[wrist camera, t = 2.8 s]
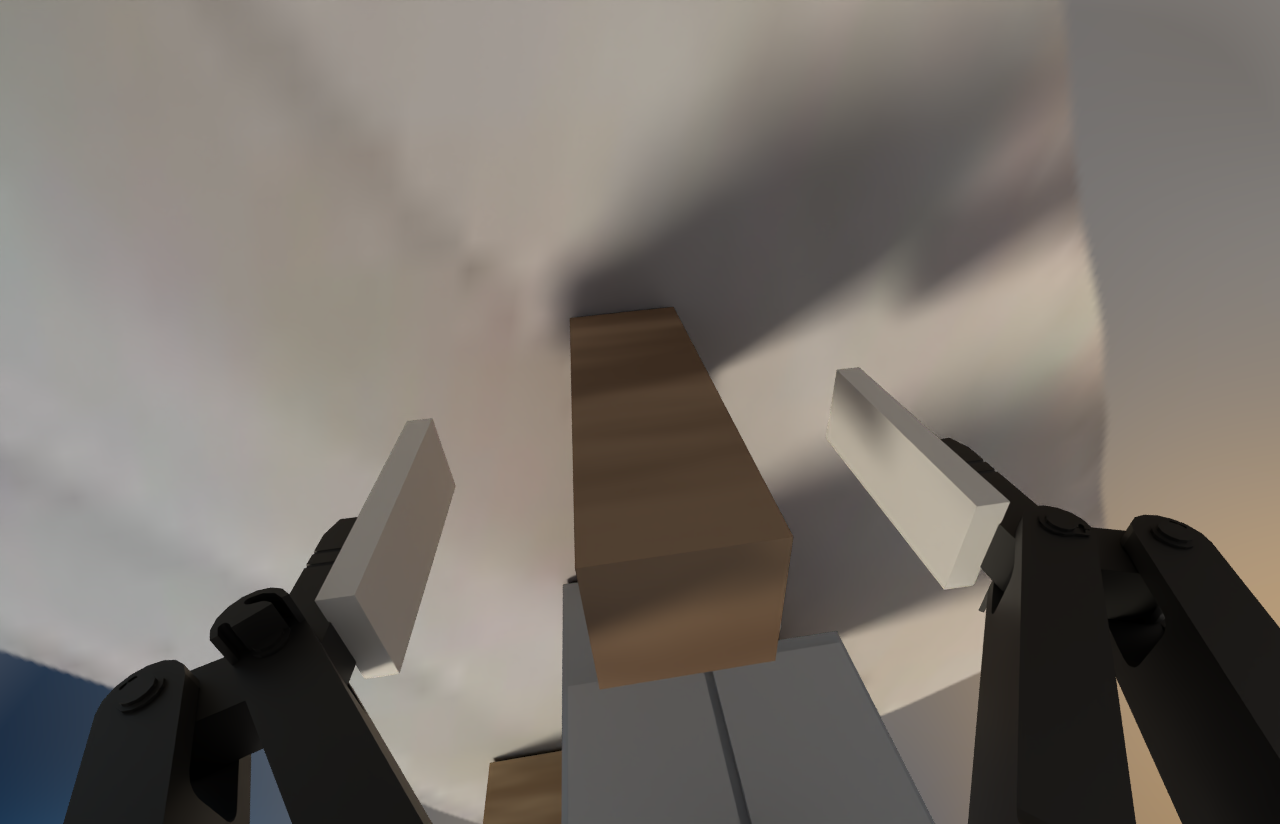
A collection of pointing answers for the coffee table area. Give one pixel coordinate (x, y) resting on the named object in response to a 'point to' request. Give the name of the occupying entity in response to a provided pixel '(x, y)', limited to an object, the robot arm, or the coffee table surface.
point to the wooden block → (667, 509)
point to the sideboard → (729, 742)
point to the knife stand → (525, 790)
